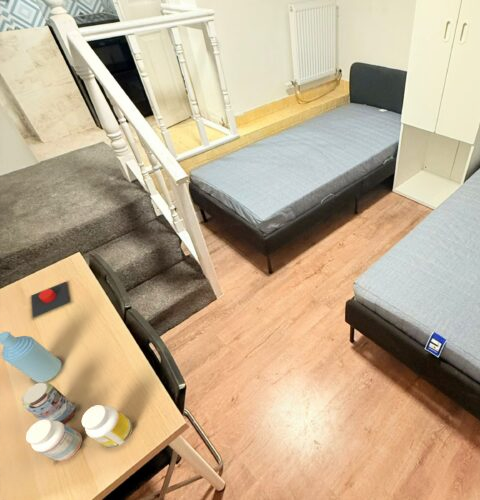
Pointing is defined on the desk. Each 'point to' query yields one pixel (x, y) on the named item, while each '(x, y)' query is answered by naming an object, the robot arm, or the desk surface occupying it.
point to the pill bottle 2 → (106, 425)
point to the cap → (47, 295)
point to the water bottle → (29, 357)
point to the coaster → (61, 299)
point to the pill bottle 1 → (54, 439)
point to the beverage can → (48, 403)
